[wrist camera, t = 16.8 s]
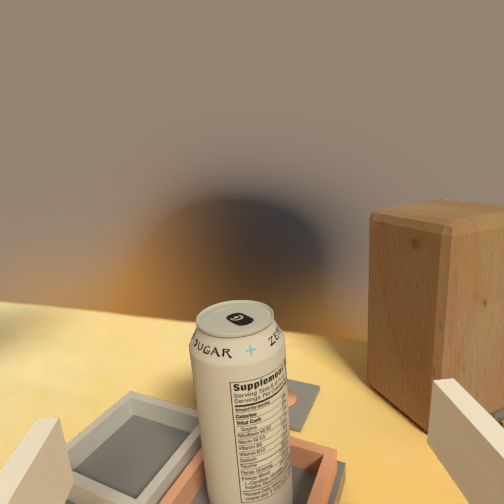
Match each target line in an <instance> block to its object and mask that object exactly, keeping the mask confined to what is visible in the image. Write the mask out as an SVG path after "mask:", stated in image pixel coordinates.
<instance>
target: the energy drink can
mask: <svg viewBox="0 0 504 504" xmlns="http://www.w3.org/2000/svg"><path fill="white" fill-rule="evenodd" d="M196 326H197V328H196V330H195V332H194V334H193V336H192V339H191V341H190V344H189V351H190V359H191V367H192V374H193V382H194V390H195V398H196V406H197V413H198V421H199V429H200V437H201V444H202V452H203V460H204V468H205V476H206V483H207V491H208V499H209V504H292V500H293V487H292V468H291V448H290V429H289V409H288V390H287V370H286V351H285V337H284V334H283V332H282V330H281V329H280V327H279V326H278V324H277V323H276V322H275V320H274V313H273V311H272V309H271V308H270V307H269V306H268V305H266V304H264V303H261V302H257V301H250V300H234V301H227V302H222V303H218V304H215V305H212V306H210V307H207V308H206V309H204V310H203V311H201V312H200V313H199V314H198V316H197V318H196Z"/></svg>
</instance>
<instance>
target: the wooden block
mask: <svg viewBox="0 0 504 504" xmlns="http://www.w3.org/2000/svg"><path fill="white" fill-rule="evenodd" d="M368 295H369V296H368V297H369V298H368V364H367V378H368V381H369V383H370V385H371V386H372V387H373V388H374V389H375V390H377V391H378V392H379V393H380V394H382V395H383V396H384V397H385V398H386V399H388V400H389V401H390V402H391V403H393V404H394V405H395V406H396V407H397V408H399V409H400V410H401V411H402V412H404V413H405V414H406V415H407V416H408V417H410V418H411V419H412V420H413V421H415V422H416V423H417V424H418V425H419V426H421V427H422V428H423V429H424V430H426V431H427V432H428V428H429V417H430V407H431V397H432V386H433V380H441V379H451V378H454V379H455V380H456V381H457V382H458V383H459V384H460V385H461V386H462V387H463V388H464V389H465V390H466V391H467V392H468V393H469V394H470V395H471V396H472V397H473V398H474V399H475V400H476V401H477V402H478V403H479V404H480V405H481V406H482V407H483V408H484V409H485V410H486V411H487V412H488V413H489V414H490V415H492V414H494V413H496V412H499V411H501V410H503V409H504V206H498V205H489V204H480V203H471V202H461V201H451V200H442V199H441V200H435V201H428V202H422V203H415V204H409V205H401V206H395V207H388V208H382V209H379V210H377V211H374V212H373V213H371V216H370V223H369V294H368Z"/></svg>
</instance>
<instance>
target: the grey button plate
mask: <svg viewBox="0 0 504 504" xmlns="http://www.w3.org/2000/svg"><path fill="white" fill-rule="evenodd" d="M287 390H288V409H289V429H290V430H294V431H298V432H301V430H302V428H303V425H304V423H305V421H306V419H307V417H308V414H309V412H310V410H311V408H312V406H313V403H314V401H315V399H316V397H317V395H318V393H319V390H320V386H317V385H313V384H308V383H303V382H299V381H294V380H289V379H287ZM195 401H196V400H195Z"/></svg>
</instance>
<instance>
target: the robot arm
mask: <svg viewBox="0 0 504 504" xmlns="http://www.w3.org/2000/svg"><path fill="white" fill-rule="evenodd" d="M427 443H428V445H429V446H430V448H431V449H432V450H433V452H434V453H435V455H436V456H437V458H438V459H439V460H440V462H441V463H442V465H443V466H444V468H445V469H446V471H447V472H448V473H449V475H450V476H451V478H452V479H453V481H454V482H455V483H456V485H457V486H458V488H459V489H460V491H461V492H462V494H463V495H464V496H465V498H466V499H467V501H468V502H469V504H504V428H503V427H502V426H501V425H500V424H499V423H498V422H497V421H496V420H495V419H494V418H493V417H492V416H491V415H490V414H489V413H488V412H487V411H486V410H485V409H484V408H483V407H482V406H481V405H480V404H479V403H478V402H477V401H476V400H475V399H474V398H473V397H472V396H471V395H470V394H469V393H468V392H467V391H466V390H465V389H464V388H463V387H462V386H461V385H460V384H459V383H458V382H457V381H456V380H455V379H454V378H451V379H441V380H433V386H432V397H431V407H430V417H429V428H428V438H427ZM73 484H74V477H73V473H72V469H71V465H70V461H69V457H68V452H67V448H66V444H65V440H64V436H63V432H62V427H61V423H60V419H59V417H58V418H48V419H38V420H35V422H34V423H33V425H32V426H31V427H30V429H29V430H28V432H27V433H26V435H25V436H24V438H23V439H22V441H21V442H20V444H19V445H18V447H17V448H16V449H15V451H14V452H13V454H12V455H11V457H10V458H9V460H8V461H7V463H6V464H5V466H4V467H3V469H2V470H1V472H0V504H65V502H66V499H67V497H68V495H69V493H70V490H71V488H72V486H73Z"/></svg>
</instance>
